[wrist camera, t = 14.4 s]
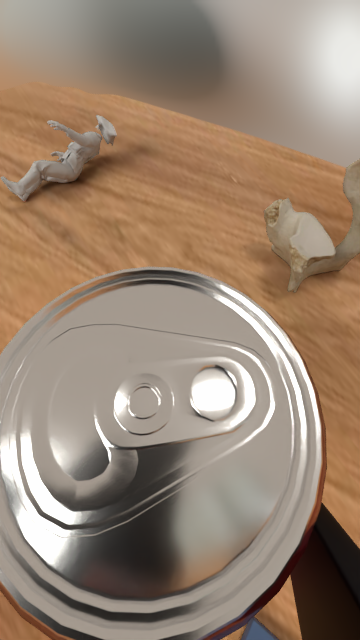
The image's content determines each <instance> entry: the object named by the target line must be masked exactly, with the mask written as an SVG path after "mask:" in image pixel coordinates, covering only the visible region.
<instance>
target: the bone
mask: <svg viewBox="0 0 360 640" xmlns="http://www.w3.org/2000/svg"><path fill="white" fill-rule="evenodd" d="M343 191H344V194H345V195H346V197H347V199H348V200H349V202H350V203H351V205H352V209H353V220H352V224H351V227H350V229H349V232H348V233H347V235H346V237H345V238H344V240H343V241H342V242H341V243H340V244H339V245H338V246H337V247H336V248H334V245H333V243H332V241H331V238H330V236H329V235H328V234H327V232H326V231H325V230H324V228H323V226H322V225H321V224H320V223H319V221H318V220H317V219H316V218H315V217H314V216H313V215H312V214H310V213H306V212H295V211H294V210H293V208H292V204H291V202H290V200H289V198H287V199H285V200H282V199H280V200H277V201H274V202H273V204H272V205H270V206H269V207H267V209H266V210H264V218H265V222H266V232H267V235H268V237H269V240H270V242H272V244H273V245H272V250H273V251H274V252H275V253H276V254H277V255H279V256H280V257H281V258H282V259H283V260H284V261H286V262H287V263H288V264H289V266H290V267H291V274H290V280H289V284H288V292H290V291H292V290H294V292H296V290H297V289H298V287H299V285H300V283H301V282H302V281H303V280H304V279H305V278H306V277H308V276H311V275H314V274H319V273H324V272H329V271H338V270H341V269H342V268H343V267H344V266H345V265H346V264H347V263H348V262H349V261H350V260H351V259H353V258H354V257H355V256H356V255H358V254H359V253H360V159H359V160H357V161H356V162H354V163H352V164H351V165H349V166H348V167H347V168H346V174H345V177H344V182H343Z"/></svg>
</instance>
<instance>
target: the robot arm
mask: <svg viewBox="0 0 360 640" xmlns="http://www.w3.org/2000/svg"><path fill="white" fill-rule="evenodd" d="M290 575H291V580H292V586H293V591H294V597H295V603H296V608H297V614H298V619H299V625H300V630H301V636H302V640H360V549H359V548H358V547H357V545H356V544H355V543H354V542H353V540H352V539H351V538H350V537H349V535H348V534H347V533H346V532H345V530H344V529H343V528H342V527H341V525H340V524H339V523H338V522H337V521H336V519H335V518H334V517H333V516H332V514H331V513H330V512H329V511H328V509H327V508H326V507H325V506H324V504H323V503H322V502H321V508H320V511H319V514H318V517H317V519H316V522H315V525H314V528H313V530H312V533H311V536H310V538H309V541H308V544H307V546H306V549H305V552H304V553H303V555H302V556H301V558H300V560H299V561H298V563H297V564H296V566H295V567H294V569H293V571H292V572H291V574H290Z"/></svg>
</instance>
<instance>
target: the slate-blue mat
mask: <svg viewBox="0 0 360 640" xmlns="http://www.w3.org/2000/svg"><path fill="white" fill-rule="evenodd" d="M241 640H279V639H278V638H277V637H275V636H274V635H273V634H272V633H271V632H270V631H269V630H268V629H267V628H266V627H265V626H264V625H263V624H262V623H261V622H259V621H258V620H257V619H256V618H255V617H253V618H252V619H251V620H250V621H249V622H248V624H247V626H246V629H245V631H244V633H243V636H242V638H241Z"/></svg>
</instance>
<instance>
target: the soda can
mask: <svg viewBox="0 0 360 640" xmlns="http://www.w3.org/2000/svg"><path fill="white" fill-rule="evenodd" d="M326 470H327V457H326V428H325V423H324V419H323V414H322V409H321V405H320V400H319V395H318V392H317V389H316V387H315V384H314V382H313V380H312V377H311V375H310V372H309V370H308V367H307V365H306V362H305V361H304V359H303V357H302V356H301V354H300V353H299V351H298V349H297V348H296V346H295V345H294V343H293V341H292V340H291V338H290V337H289V335H288V334H287V333H286V332H285V331H284V330H283V328H282V327H281V326H280V325H279V324H278V323H277V322H276V321H275V319H274V318H273V317H272V316H271V315H270V314H269V313H268V312H267V311H265V310H264V309H263V308H262V307H260V306H259V305H258V304H257V303H255V302H254V301H253V300H252V299H250V298H249V297H248V296H247V295H245V294H244V293H242V292H240V291H238V290H237V289H235V288H233V287H231V286H229V285H228V284H226V283H224V282H222V281H220V280H217V279H214V278H212V277H209V276H206V275H203V274H201V273H198V272H193V271H187V270H182V269H177V268H168V267H142V268H133V269H125V270H120V271H116V272H113V273H109V274H105V275H102V276H98V277H95V278H93V279H91V280H89V281H86V282H84V283H82V284H80V285H78V286H75V287H73V288H71V289H70V290H68V291H66V292H65V293H63V294H62V295H60V296H59V297H57V298H56V299H54V300H53V301H51V302H49V303H48V304H47V305H46V306H44V307H43V308H42V309H41V310H40V311H39V312H38V313H37V314H35V315H34V316H33V317H32V318H31V319H30V320H29V321H27V322H26V323H25V324H24V325H23V327H22V328H21V329H20V330H19V332H18V333H17V334H16V335H15V336H14V338H13V339H12V340H11V341H10V342H9V344H8V345H7V346H6V347H5V348H4V350H3V352H2V353H1V355H0V591H1V592H2V593H3V594H4V596H5V597H6V598H7V600H8V601H9V602H10V603H11V605H12V606H13V607H14V608H15V610H16V611H17V612H18V613H19V615H20V616H21V617H22V618H23V619H25V620H26V621H28V622H29V623H30V624H32V625H33V626H34V627H36V628H37V629H38V630H40V631H41V632H43V633H44V634H45V635H47V636H48V637H49V638H51V639H52V640H220V639H222V638H224V637H226V636H227V635H229V634H231V633H232V632H234V631H236V630H238V629H239V628H241V627H243V626H244V625H246V624H247V623H248V622H249V621H250V620H251V619H252V618H253V617H254V616H255V615H256V614H257V613H258V612H259V611H260V610H261V609H262V608H263V607H264V606H265V605H266V604H267V603H268V602H269V601H270V600H271V599H272V598H273V597H274V596H275V595H276V594H277V593H278V592H279V591H280V589H281V588H282V586H283V585H284V583H285V582H286V580H287V578H288V577H289V575H290V574H291V572H292V571H293V569H294V567H295V566H296V564H297V563H298V561H299V560H300V558H301V556H302V555H303V553H304V552H305V549H306V546H307V544H308V541H309V538H310V536H311V533H312V530H313V528H314V525H315V522H316V519H317V517H318V514H319V511H320V508H321V501H322V495H323V489H324V482H325V476H326Z"/></svg>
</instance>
